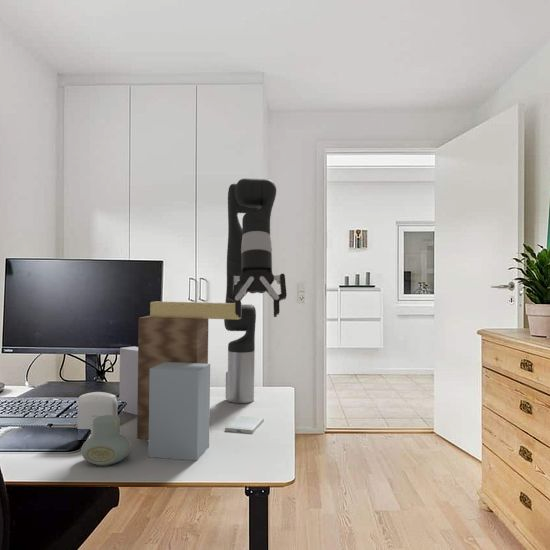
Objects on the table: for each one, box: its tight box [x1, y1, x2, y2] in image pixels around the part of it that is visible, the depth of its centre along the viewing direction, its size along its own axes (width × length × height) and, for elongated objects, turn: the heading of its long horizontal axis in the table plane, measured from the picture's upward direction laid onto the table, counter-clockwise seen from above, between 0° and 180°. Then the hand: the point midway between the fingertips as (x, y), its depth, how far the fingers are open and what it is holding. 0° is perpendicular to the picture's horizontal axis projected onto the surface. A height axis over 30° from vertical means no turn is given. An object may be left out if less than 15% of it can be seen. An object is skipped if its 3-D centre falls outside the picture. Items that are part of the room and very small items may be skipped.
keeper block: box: [148, 362, 211, 461], centre depth 128 cm, size 12×10×21 cm
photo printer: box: [76, 391, 118, 437], centre depth 136 cm, size 10×4×12 cm, turn 90°
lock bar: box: [149, 300, 243, 320], centre depth 139 cm, size 24×4×4 cm, turn 81°
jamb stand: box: [136, 315, 209, 442], centre depth 140 cm, size 16×10×32 cm, turn 81°
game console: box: [118, 346, 138, 416], centre depth 159 cm, size 6×27×20 cm, turn 53°
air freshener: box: [80, 415, 132, 467], centre depth 121 cm, size 11×8×10 cm
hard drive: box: [224, 415, 265, 434], centre depth 150 cm, size 2×8×12 cm
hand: (257, 316), depth 125 cm, fingers open, 8 cm apart
